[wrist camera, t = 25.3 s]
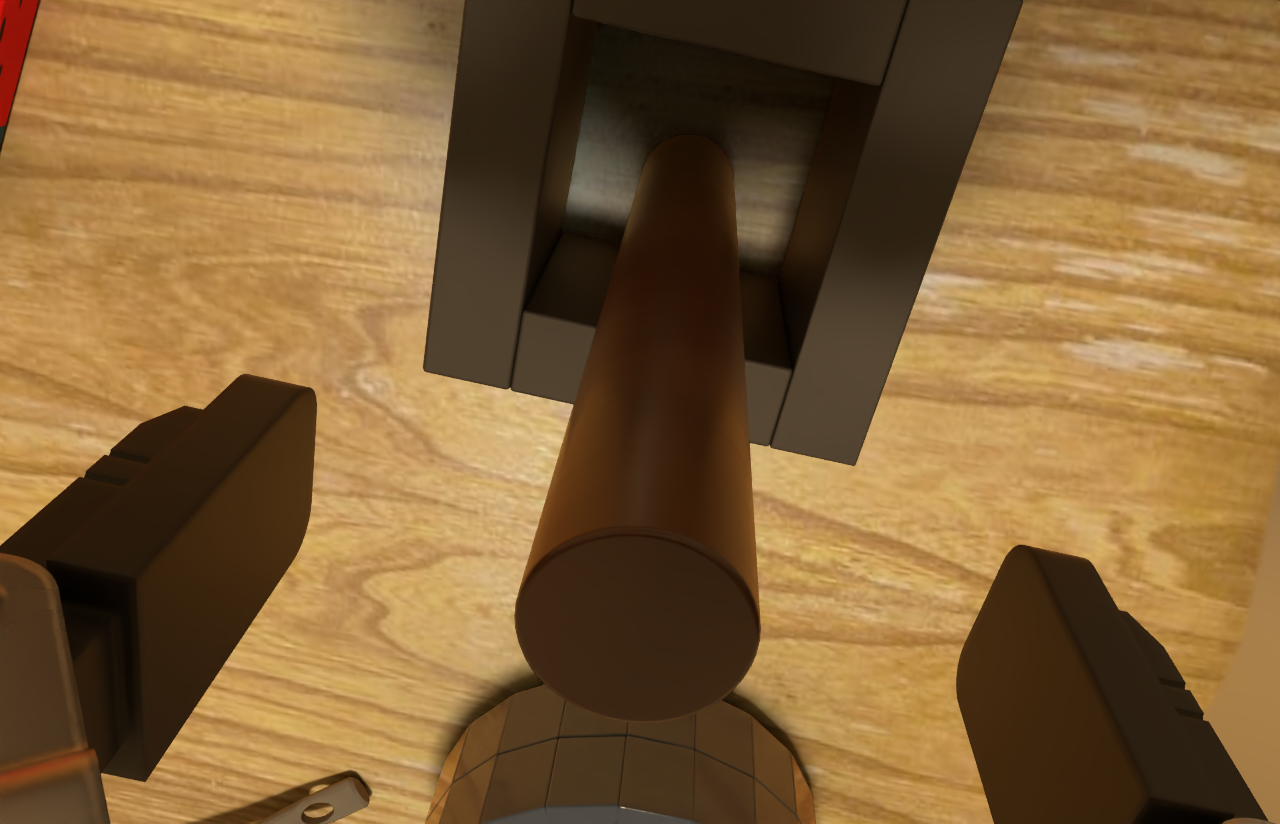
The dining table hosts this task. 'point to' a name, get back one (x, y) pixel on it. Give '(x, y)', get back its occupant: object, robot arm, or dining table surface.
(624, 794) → the dark grey round dish
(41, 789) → the robot arm
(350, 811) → the ladle
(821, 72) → the holder
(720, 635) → the stick
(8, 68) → the popsicle
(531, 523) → the dining table surface
